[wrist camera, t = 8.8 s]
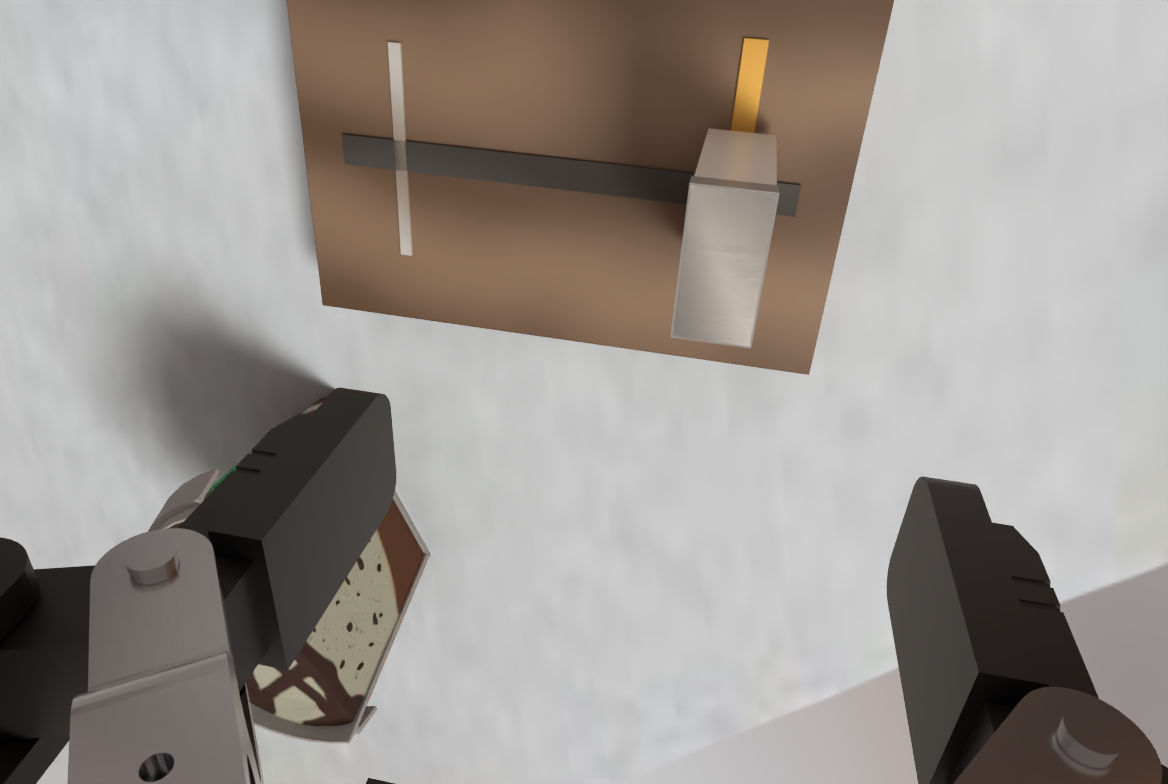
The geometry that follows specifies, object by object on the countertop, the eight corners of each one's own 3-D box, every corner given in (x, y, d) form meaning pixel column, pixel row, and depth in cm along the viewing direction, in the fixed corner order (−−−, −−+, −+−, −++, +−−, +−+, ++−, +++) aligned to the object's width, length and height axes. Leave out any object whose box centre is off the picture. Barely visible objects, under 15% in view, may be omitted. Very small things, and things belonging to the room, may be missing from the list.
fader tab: (707, 126, 24) (689, 182, 19) (778, 133, 24) (779, 192, 19) (690, 255, 27) (670, 337, 21) (755, 263, 26) (751, 348, 21)
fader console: (318, -60, 27) (278, -58, 25) (885, -17, 24) (896, -10, 22) (351, 279, 33) (321, 306, 31) (806, 342, 30) (808, 376, 28)
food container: (214, 393, 38) (51, 533, 29) (323, 362, 35) (181, 504, 27) (341, 592, 43) (233, 762, 34) (443, 576, 40) (355, 752, 32)
